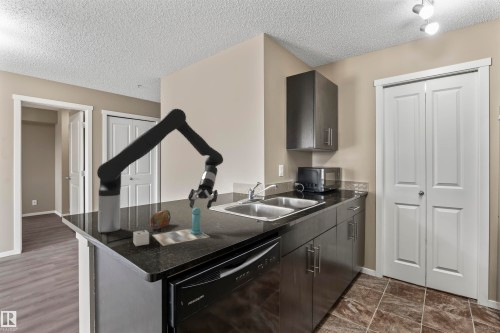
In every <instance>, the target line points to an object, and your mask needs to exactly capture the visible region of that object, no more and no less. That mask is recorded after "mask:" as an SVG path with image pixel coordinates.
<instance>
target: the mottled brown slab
mask: <svg viewBox="0 0 500 333" xmlns="http://www.w3.org/2000/svg"><path fill="white" fill-rule="evenodd" d="M170 222H171V212H170V210H168V209H163V210H160V211H157V212H155V213H153V214H152V215H151V216H150V227H151V229H152V230H156V231H157V230H159V229H162V228H163V227H168V226H169V224H170Z"/></svg>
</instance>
